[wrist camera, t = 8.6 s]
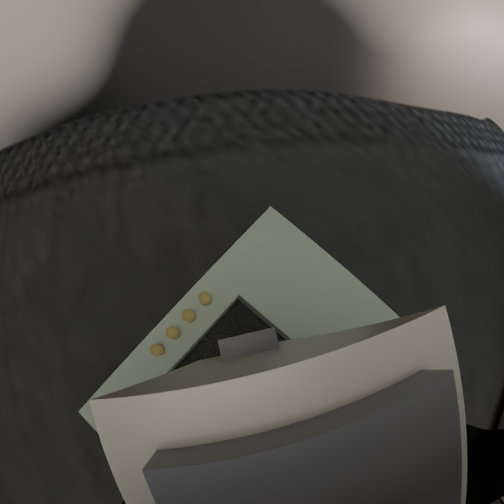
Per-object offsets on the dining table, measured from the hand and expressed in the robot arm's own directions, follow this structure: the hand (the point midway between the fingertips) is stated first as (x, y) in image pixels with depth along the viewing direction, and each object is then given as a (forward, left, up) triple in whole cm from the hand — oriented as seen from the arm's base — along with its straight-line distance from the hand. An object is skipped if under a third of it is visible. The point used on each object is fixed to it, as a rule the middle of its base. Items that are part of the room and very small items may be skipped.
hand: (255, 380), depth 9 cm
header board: (-1, -1, -13) cm, 13 cm away
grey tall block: (-1, -1, -7) cm, 7 cm away
